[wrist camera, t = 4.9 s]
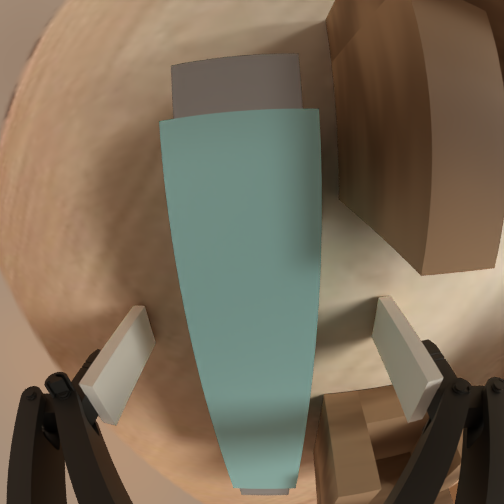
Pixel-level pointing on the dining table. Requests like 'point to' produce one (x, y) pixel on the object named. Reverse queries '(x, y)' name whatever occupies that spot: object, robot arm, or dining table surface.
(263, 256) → the rail
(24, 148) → the dining table surface
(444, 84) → the posts
